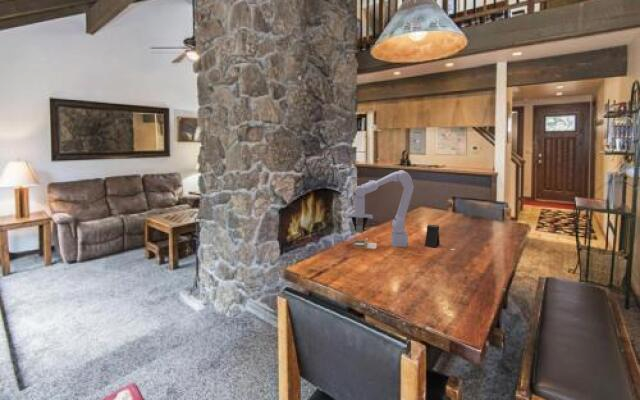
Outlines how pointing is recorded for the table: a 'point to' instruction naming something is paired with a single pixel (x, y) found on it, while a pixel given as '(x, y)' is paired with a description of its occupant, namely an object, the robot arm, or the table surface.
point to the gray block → (359, 228)
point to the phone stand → (432, 236)
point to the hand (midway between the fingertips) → (359, 230)
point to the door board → (364, 244)
